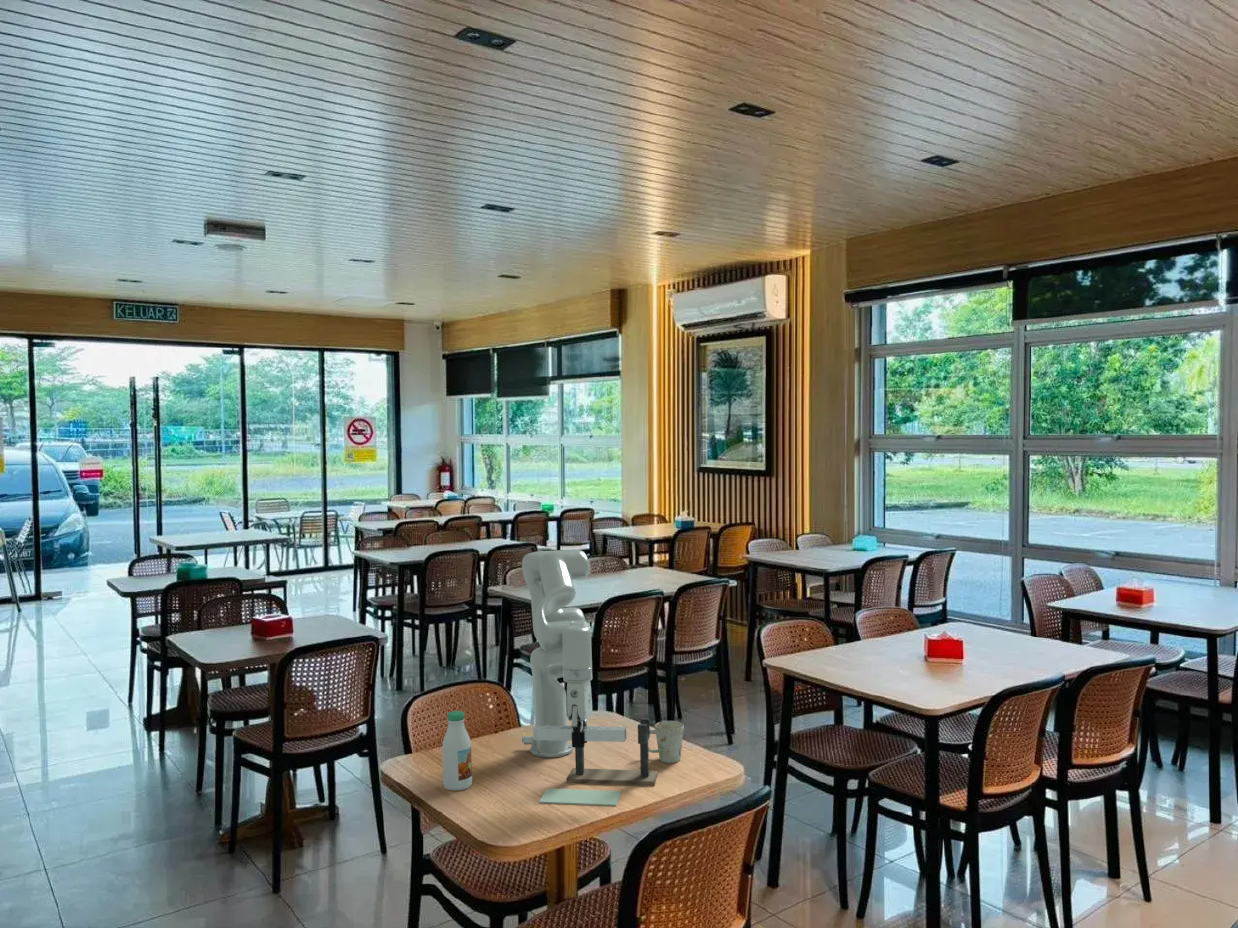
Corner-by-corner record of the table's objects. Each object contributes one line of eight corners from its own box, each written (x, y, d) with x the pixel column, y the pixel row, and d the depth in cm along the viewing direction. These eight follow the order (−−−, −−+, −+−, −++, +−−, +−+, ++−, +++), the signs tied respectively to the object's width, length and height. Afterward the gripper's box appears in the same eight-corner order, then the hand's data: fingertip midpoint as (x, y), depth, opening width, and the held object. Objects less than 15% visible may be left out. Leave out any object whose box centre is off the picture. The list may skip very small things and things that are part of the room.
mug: (682, 764, 260) (681, 730, 260) (639, 762, 263) (638, 728, 263) (686, 755, 268) (685, 721, 268) (644, 753, 271) (643, 719, 271)
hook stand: (566, 782, 249) (564, 724, 248) (572, 772, 257) (571, 715, 256) (654, 785, 245) (652, 726, 245) (657, 775, 253) (656, 717, 252)
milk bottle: (448, 793, 243) (446, 718, 243) (439, 784, 250) (437, 711, 250) (476, 787, 247) (474, 714, 246) (467, 778, 254) (465, 707, 253)
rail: (533, 740, 238) (532, 728, 238) (536, 736, 241) (535, 725, 241) (624, 741, 234) (624, 730, 234) (626, 738, 237) (626, 726, 237)
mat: (539, 803, 235) (539, 801, 235) (547, 789, 244) (547, 788, 244) (616, 805, 232) (615, 804, 232) (621, 792, 241) (621, 791, 241)
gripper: (585, 681, 228) (587, 755, 229) (597, 666, 245) (599, 735, 245) (556, 681, 230) (558, 754, 230) (570, 666, 246) (572, 735, 246)
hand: (579, 744), depth 237 cm, fingers closed on rail, 3 cm apart
